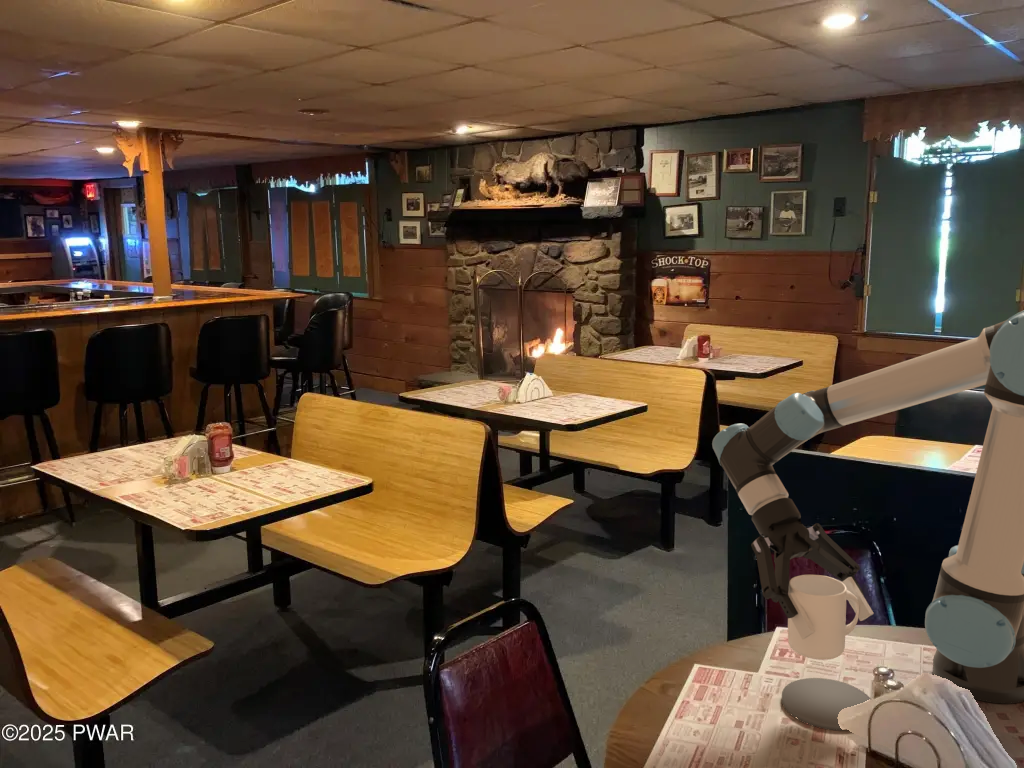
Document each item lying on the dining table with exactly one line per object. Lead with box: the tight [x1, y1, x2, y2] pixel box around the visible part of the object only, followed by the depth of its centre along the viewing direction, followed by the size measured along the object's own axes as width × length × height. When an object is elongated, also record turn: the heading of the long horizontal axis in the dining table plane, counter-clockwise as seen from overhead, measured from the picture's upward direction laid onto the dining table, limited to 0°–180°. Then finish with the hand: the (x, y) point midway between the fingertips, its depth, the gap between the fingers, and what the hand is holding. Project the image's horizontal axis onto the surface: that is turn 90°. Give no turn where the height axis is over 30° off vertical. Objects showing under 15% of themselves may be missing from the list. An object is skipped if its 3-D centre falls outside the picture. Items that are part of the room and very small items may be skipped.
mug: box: [787, 574, 859, 661], centre depth 129 cm, size 9×12×11 cm
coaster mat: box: [781, 677, 872, 732], centre depth 131 cm, size 14×14×1 cm
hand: (838, 626), depth 127 cm, fingers closed on mug, 12 cm apart
